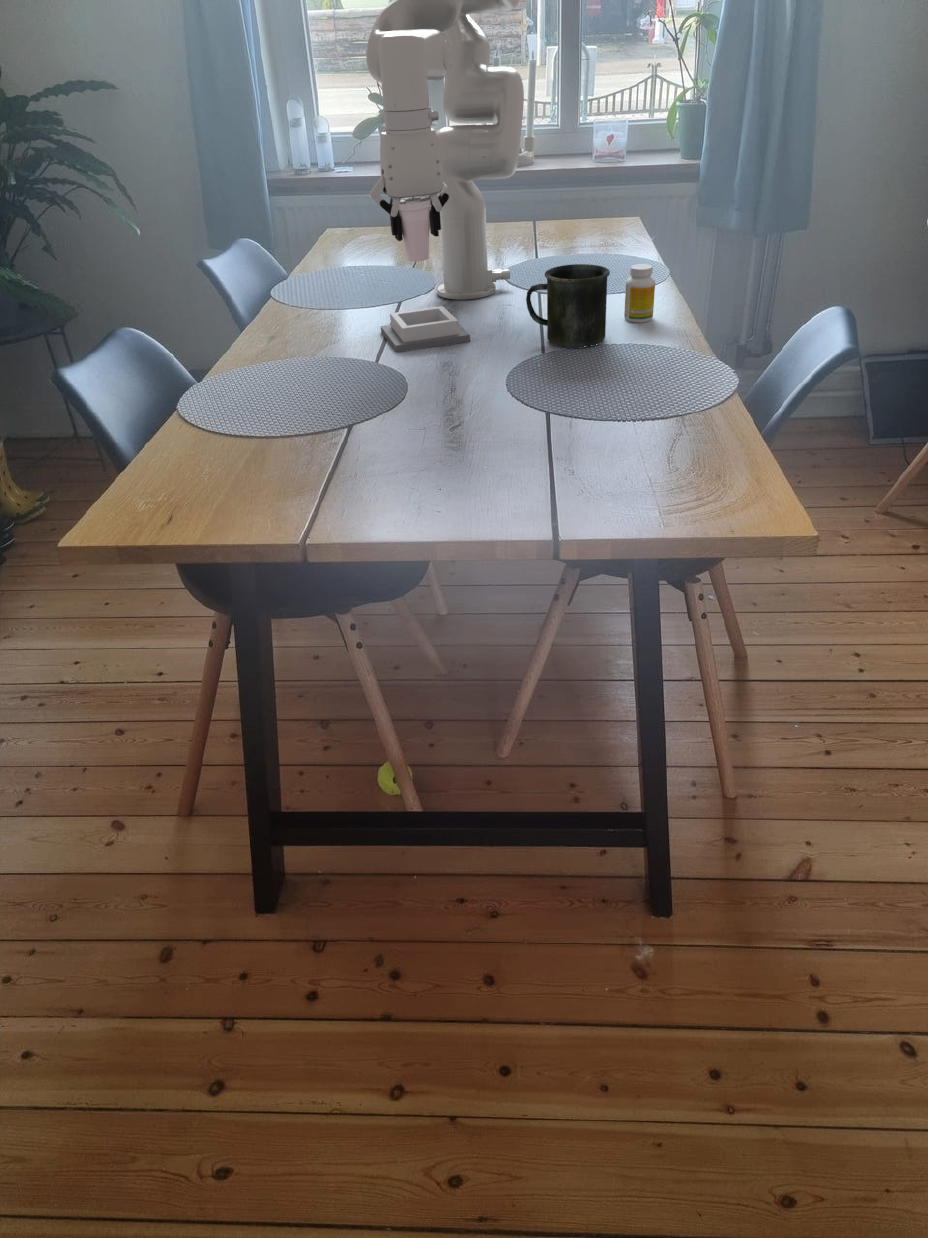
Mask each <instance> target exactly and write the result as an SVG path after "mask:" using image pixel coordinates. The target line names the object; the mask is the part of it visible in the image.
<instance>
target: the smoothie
mask: <svg viewBox="0 0 928 1238" xmlns="http://www.w3.org/2000/svg"><path fill="white" fill-rule="evenodd" d="M430 209H431V200H430V198H428V197H427V196H419V197H410V198H401V202H400V204H399V209H398V213H399V216H400V217H401V225H402V237H403V242H404V247H405V251H406V255H407V260H408V261H409V262H416V263H417V262H424V261H427V260H429V258H430V219H429V211H430Z"/></svg>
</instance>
